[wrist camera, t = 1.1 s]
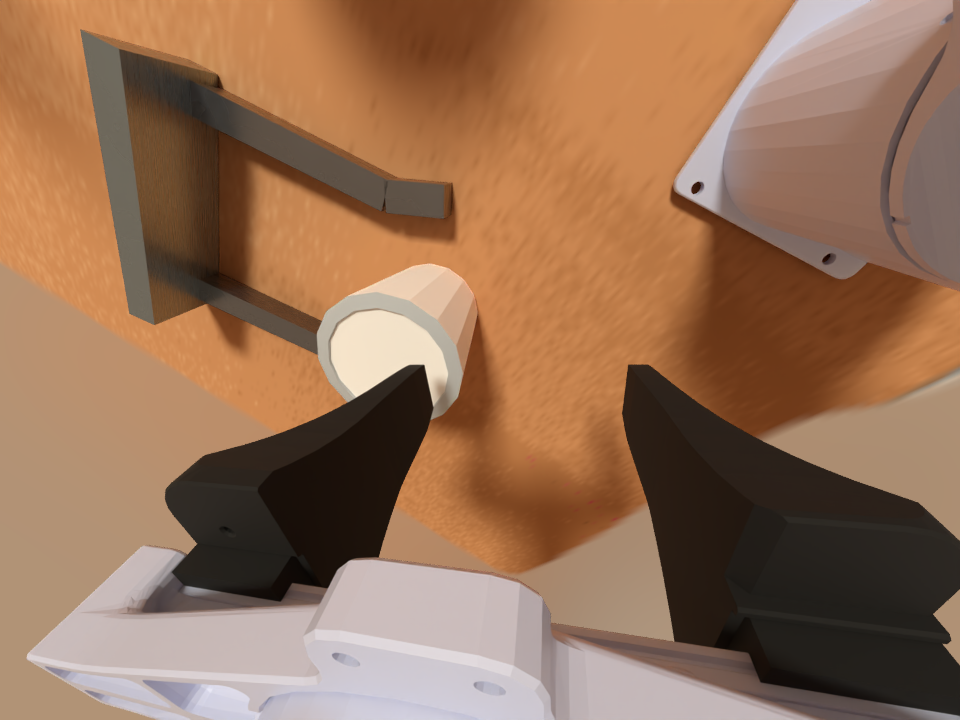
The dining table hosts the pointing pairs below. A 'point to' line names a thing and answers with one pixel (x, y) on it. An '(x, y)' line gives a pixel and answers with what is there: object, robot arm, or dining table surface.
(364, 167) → the grey hook bracket
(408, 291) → the shot glass
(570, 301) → the dining table surface
